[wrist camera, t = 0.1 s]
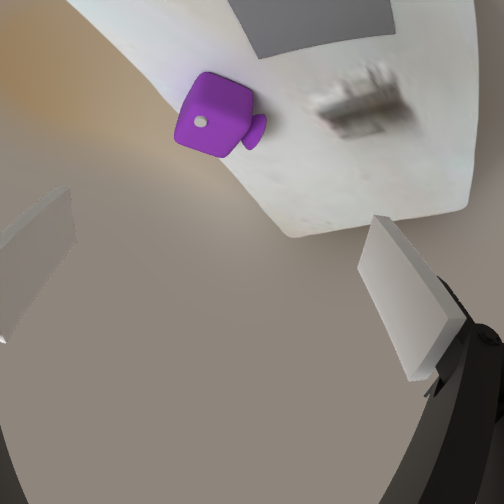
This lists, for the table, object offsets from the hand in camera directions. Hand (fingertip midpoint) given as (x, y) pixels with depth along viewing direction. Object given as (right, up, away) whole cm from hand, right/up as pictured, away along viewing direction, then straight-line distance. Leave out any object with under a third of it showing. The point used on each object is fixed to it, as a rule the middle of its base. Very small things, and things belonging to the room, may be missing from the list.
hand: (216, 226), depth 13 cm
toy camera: (-3, +24, +36) cm, 43 cm away
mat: (+9, +31, +17) cm, 37 cm away
